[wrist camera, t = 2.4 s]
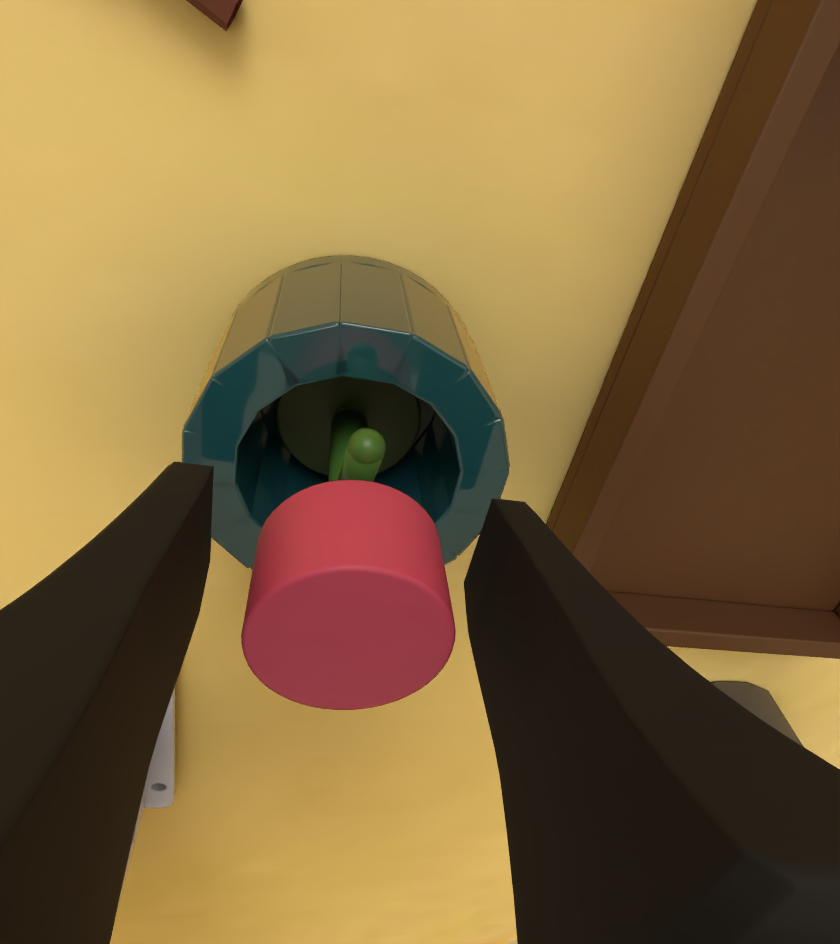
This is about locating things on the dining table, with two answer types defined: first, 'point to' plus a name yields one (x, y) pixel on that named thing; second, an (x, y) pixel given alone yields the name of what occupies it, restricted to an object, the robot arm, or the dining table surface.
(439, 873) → the dining table surface
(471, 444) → the vase
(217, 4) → the brown piece
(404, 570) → the rose
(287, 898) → the dining table surface
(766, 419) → the tray
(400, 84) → the dining table surface
